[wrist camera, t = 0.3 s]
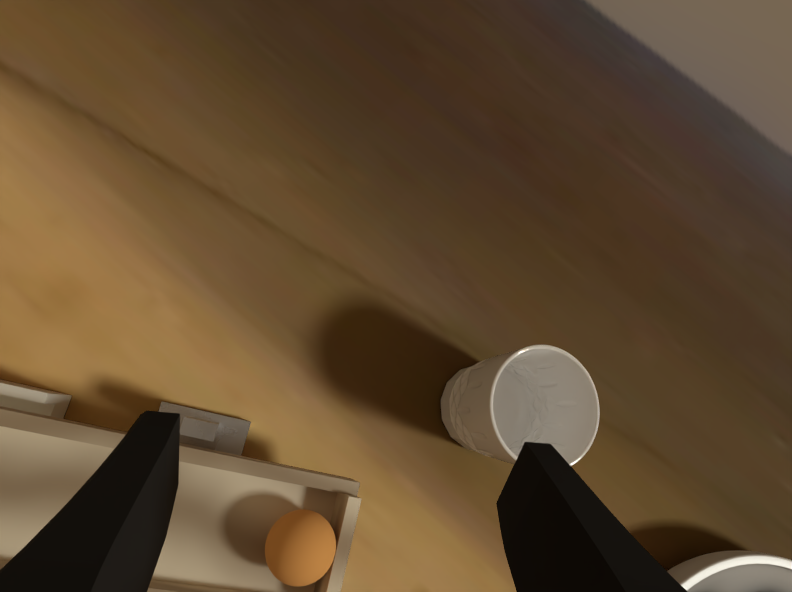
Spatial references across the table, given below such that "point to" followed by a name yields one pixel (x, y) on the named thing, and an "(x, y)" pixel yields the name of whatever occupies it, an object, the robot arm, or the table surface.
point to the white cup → (523, 404)
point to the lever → (193, 508)
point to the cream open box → (33, 399)
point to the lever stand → (209, 429)
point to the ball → (300, 547)
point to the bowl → (734, 572)
